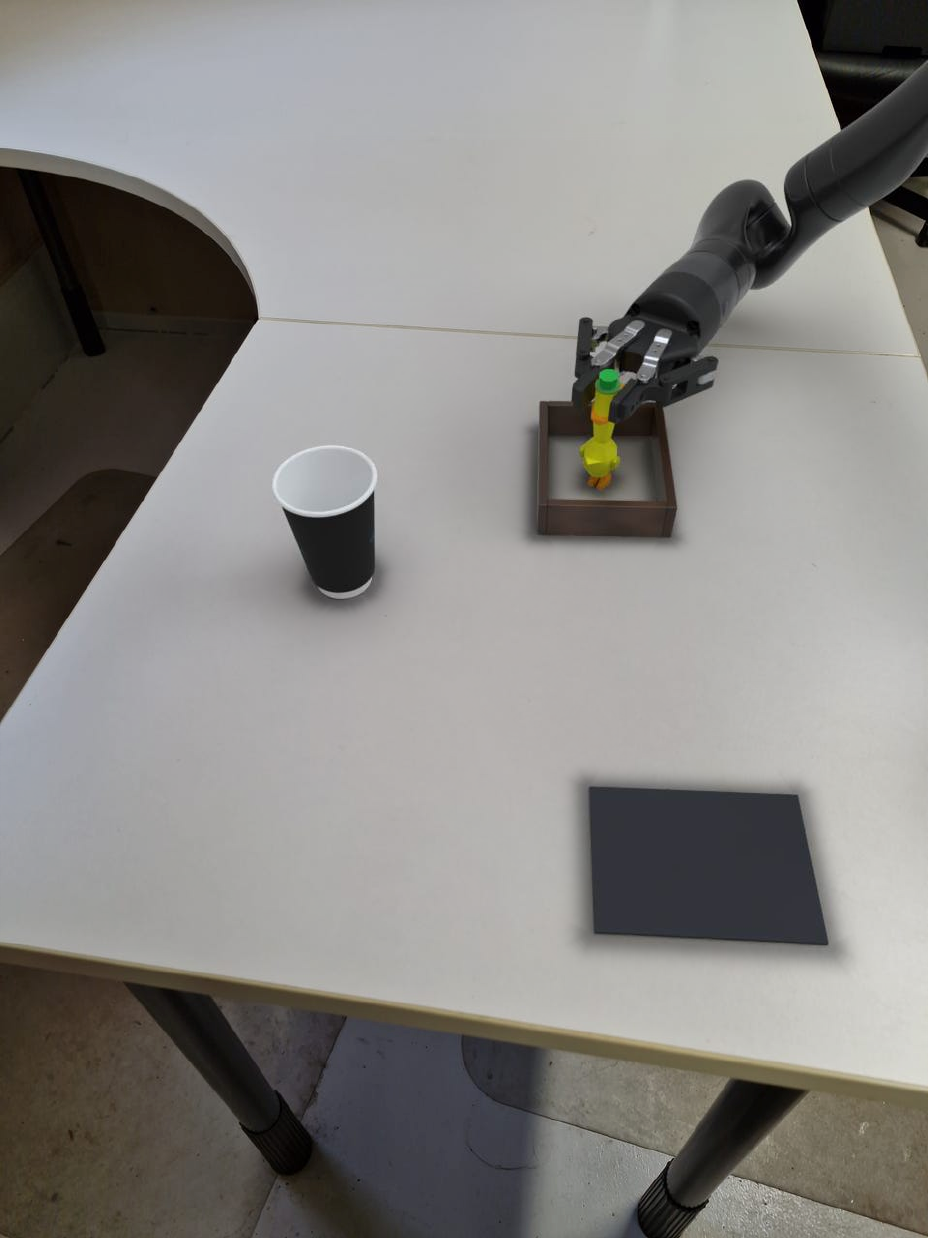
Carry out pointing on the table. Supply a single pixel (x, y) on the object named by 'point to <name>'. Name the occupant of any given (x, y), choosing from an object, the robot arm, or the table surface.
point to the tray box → (606, 513)
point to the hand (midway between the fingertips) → (594, 406)
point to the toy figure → (602, 432)
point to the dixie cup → (331, 515)
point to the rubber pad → (703, 866)
